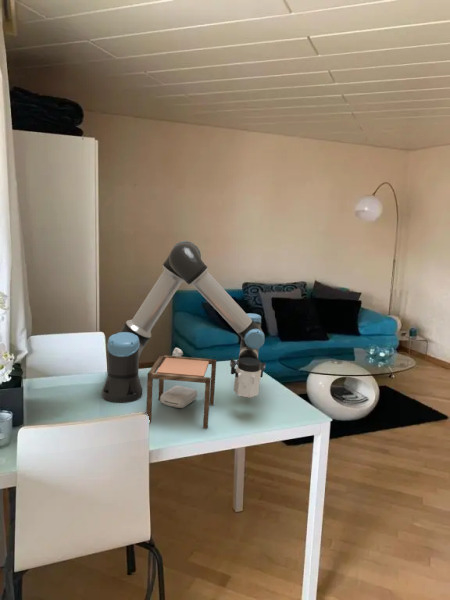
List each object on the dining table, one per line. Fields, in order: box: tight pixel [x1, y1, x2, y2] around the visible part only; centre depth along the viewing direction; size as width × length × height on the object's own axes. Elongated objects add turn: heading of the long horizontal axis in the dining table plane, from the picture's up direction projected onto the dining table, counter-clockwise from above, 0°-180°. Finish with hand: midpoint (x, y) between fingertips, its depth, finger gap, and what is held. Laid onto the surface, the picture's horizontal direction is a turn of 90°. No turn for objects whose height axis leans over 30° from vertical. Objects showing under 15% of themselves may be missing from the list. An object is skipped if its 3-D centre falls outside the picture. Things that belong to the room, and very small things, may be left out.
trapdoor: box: [156, 358, 210, 377], centre depth 170 cm, size 16×16×1 cm
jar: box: [233, 357, 262, 399], centre depth 171 cm, size 9×8×12 cm
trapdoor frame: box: [145, 354, 217, 429], centre depth 172 cm, size 21×21×18 cm
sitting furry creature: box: [171, 347, 184, 357], centre depth 211 cm, size 10×9×12 cm
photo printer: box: [159, 385, 198, 409], centre depth 181 cm, size 10×4×12 cm
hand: (246, 379), depth 166 cm, fingers closed on jar, 4 cm apart
